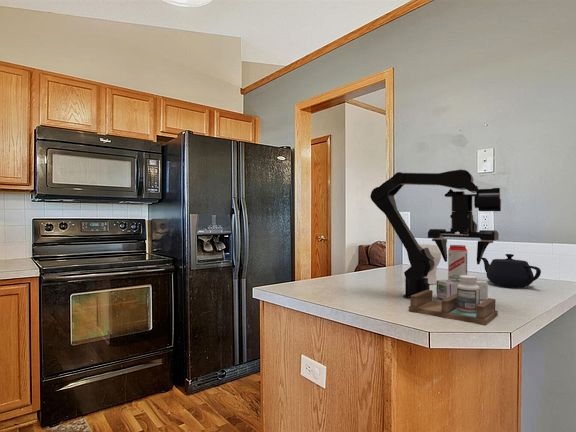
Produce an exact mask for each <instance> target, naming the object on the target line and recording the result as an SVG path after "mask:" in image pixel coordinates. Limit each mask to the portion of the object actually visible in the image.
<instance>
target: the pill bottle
mask: <svg viewBox="0 0 576 432" xmlns="http://www.w3.org/2000/svg"><path fill="white" fill-rule="evenodd" d="M477 280H478V277H477V276H475V275H468V274H467V275H461V276H460V282H461V283H460V284H458V286H457V309H458V310H460V311H463V312H470V313H475V312H476V306H477V305H479V304H480V301H481V300H480V288H479V286H478V285H476V283H477Z"/></svg>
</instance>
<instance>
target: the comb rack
mask: <svg viewBox="0 0 576 432" xmlns="http://www.w3.org/2000/svg"><path fill="white" fill-rule="evenodd" d="M433 296H434V295H433V289H430V290H425V291H422V292H420V293H417V294H414V295H411V298H410V304H409V306H408V312H412V311H413V313H419V314H424V315H430V316H435V317H439V318H445V319H450V320H456V321H462V322H467V323H474V324H477V325H478V324H479V325H482V326H483V325H484V326H487V325H489V323H490V322H492V321H493V320H494V319H495V318H496V317H497V316H498V310H497V309H496V299H495V298H491V297H488V299H486V300H484V301H483V300H482V302H481V303H480V304H479V305H477V306H476V312H475V313H470V312H463V311H460V310H458V309H457V294H455V295H452V296H450V297H448V298H446V299H444V300H443V299H441V301H437V300H433Z"/></svg>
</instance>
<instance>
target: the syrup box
mask: <svg viewBox="0 0 576 432" xmlns="http://www.w3.org/2000/svg"><path fill="white" fill-rule="evenodd" d="M460 283H461V282H460V279H458V280H448V279H437V283H436V288H435V289H436V298H439V299H440V300H444V299H446V298H448V297H450V296H452V295H455V294H457V286H458V284H460ZM488 284H489V282H488V281H485V280H482V279H477V283H476V285H478V286H479V288H480V301H483V300H484V301H485V300H487V299H488V298H489V295H488V293H489V292H488V291H489V285H488Z"/></svg>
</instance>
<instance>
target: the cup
mask: <svg viewBox="0 0 576 432" xmlns="http://www.w3.org/2000/svg"><path fill="white" fill-rule="evenodd" d="M418 244H419V245H420V246H421V247H422V248H423V249H424V248H428V249H429V251H430V254H431V255H432V256H433V257H434V259H433V260H434V264H435V265H434V268H433V270H432V271H430V272H429V273H428V275H427V277H425V278H428V283H429V284H430V285H437V280H438V279H437V267H438V266H439V264H440V263H441V259H442V254H441V252H440V250H439V248H438V246H437V244H430V243H429V244H425V243H423V244H422V243H421V244H420V243H418Z"/></svg>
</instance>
